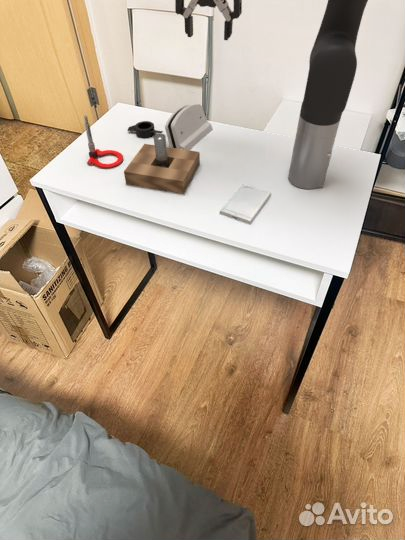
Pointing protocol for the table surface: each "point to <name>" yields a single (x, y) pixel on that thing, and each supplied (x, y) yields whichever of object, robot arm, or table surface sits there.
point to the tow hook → (100, 152)
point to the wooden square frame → (162, 169)
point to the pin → (161, 150)
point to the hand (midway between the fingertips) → (208, 37)
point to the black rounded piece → (144, 129)
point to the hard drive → (245, 204)
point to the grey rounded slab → (187, 127)
